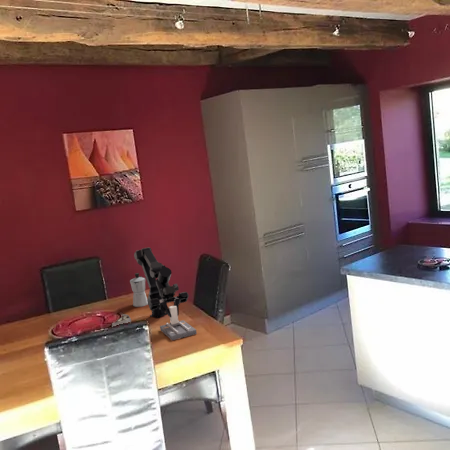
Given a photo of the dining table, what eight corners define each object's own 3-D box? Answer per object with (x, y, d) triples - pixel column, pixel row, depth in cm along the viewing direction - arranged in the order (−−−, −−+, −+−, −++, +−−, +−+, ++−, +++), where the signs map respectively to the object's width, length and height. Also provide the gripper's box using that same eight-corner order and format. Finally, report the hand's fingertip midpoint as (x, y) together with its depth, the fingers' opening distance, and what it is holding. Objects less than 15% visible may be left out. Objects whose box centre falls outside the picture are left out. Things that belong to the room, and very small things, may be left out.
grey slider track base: (160, 330, 238) (159, 324, 238) (183, 324, 244) (183, 318, 243) (171, 340, 224) (171, 334, 224) (196, 333, 229) (195, 327, 229)
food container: (127, 344, 225) (124, 323, 223) (114, 344, 226) (111, 323, 224) (137, 333, 237) (134, 313, 235) (125, 334, 238) (122, 313, 236)
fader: (169, 324, 238) (167, 306, 236) (177, 323, 239) (175, 304, 238) (171, 326, 235) (169, 308, 233) (179, 324, 237) (177, 306, 235)
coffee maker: (146, 307, 275) (142, 275, 272) (130, 308, 275) (126, 277, 273) (150, 299, 290) (147, 268, 287) (135, 300, 290) (131, 270, 287)
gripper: (147, 283, 233) (158, 312, 225) (185, 275, 241) (196, 303, 233) (144, 295, 242) (154, 323, 233) (181, 287, 249) (191, 314, 241)
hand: (174, 316), depth 235 cm, fingers closed on fader, 3 cm apart
